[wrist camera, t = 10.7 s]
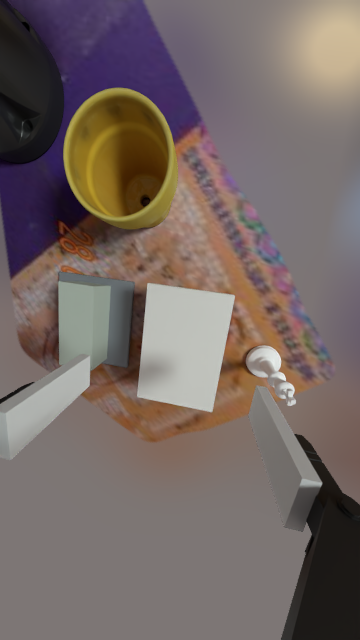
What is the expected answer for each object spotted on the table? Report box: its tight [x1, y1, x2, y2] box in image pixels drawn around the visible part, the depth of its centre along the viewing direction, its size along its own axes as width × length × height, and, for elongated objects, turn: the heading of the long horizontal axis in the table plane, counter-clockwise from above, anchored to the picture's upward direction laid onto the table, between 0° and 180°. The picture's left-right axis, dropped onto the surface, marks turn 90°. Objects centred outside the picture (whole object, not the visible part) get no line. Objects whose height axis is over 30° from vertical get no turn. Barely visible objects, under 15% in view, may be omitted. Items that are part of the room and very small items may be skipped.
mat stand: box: [58, 272, 135, 371], centre depth 28 cm, size 14×12×5 cm
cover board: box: [137, 283, 235, 412], centre depth 23 cm, size 15×10×2 cm, turn 172°
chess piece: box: [246, 346, 296, 406], centre depth 23 cm, size 5×5×10 cm
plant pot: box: [63, 88, 178, 229], centre depth 21 cm, size 10×10×10 cm
